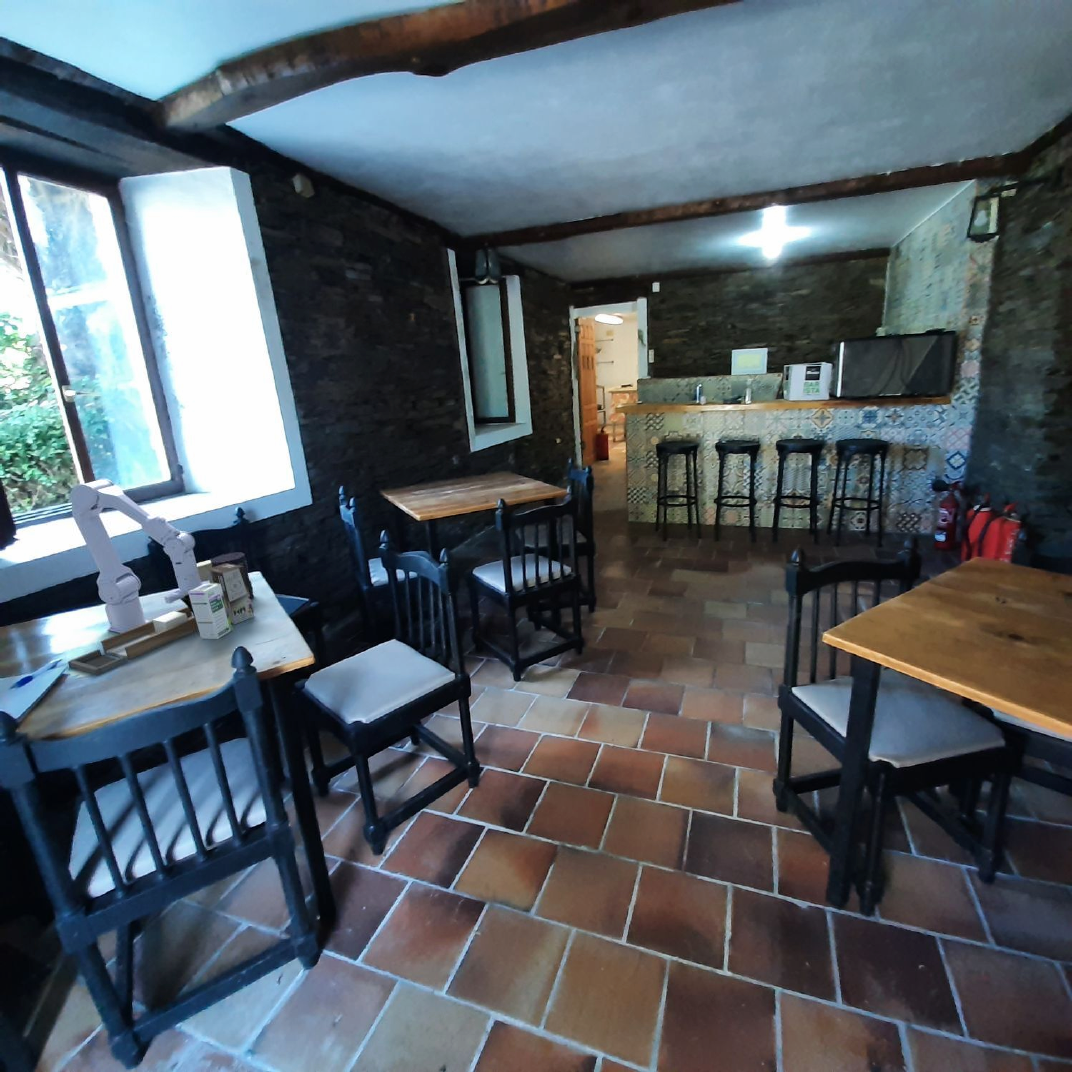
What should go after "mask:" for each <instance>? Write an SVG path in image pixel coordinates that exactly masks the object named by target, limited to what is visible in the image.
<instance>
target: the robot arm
mask: <svg viewBox="0 0 1072 1072" xmlns="http://www.w3.org/2000/svg"><path fill="white" fill-rule="evenodd" d="M67 496H68V498H69V499H70V502H71V515H72V518H73V519H74V521H75V524H76V525H77V528H78V530H79V532H80V534H81V536H82V538H83V540H84V542H85V544H86V546H87V548H88V550H89V552H90V555H91V556H92V559H93V560H94V563H95V564H96V566H97V569H98V570H99V575H98V578H97V580H96V584H97V586H98V595H99V598H100V599H101V600H102V601H103V602H105V603H106V604H105V606H104V607H105V608H104V611H105V614H106V617H107V621H108V624H109V627H107V628H106V629H107V631H110V632H111V631H112V632H116V633H118V634H120V633H122V632H125V631H127V630H130V629H132V628H135V627H137V626H140V625H142V624H145V623H147V622H150V621H151V620H148V619H146V618H145V617H146V616H145V614H144V610H143V606H142V604H141V603H142V602H141V600H140V597H139V590H140V589H141V587H142V586H141V585H142V583H141V580H140V578H139V577H138V576H137V575H135V573H134V572H133V570H132V569H131V568H130V567H128V566H125V565H124V564H123V563H122V561H121V558H120V557H119V555H118V552H117V551H116V548H115V546H114V544H113V542H112V540H111V537H110V535H109V533H108V531H107V529H106V527H105V524H104V523H103V521H102V519H101V517H100V513H102V511H103V509H104V508H109V509H110V508H111V509H115V510H117V511H118V512H120V513H122V514H123V515H125V516H126V517H128V518H130V519H132V520H133V521H135V522H136V523H137V524H139V525H140V526H141V531H142V532H143V533H145V534H146V535H147V536H148V537H150V538H152V539H153V540H154V541H156V542H157V543H159V544H160V545H162V546H163V548H162V550H163V552H164V553H165V554H166V555H168V557H169V558H170V561H171V563H172V566H173V571H174V574H175V578H176V582H177V585H178V589H177V590H175V591H173V592H172V593H170V594H168V595H165V596H164V600H165V603H166V604H173V603H174V602H176V601H179V600H180V601H182V602H183V604H185V605H186V607H187V606H188V607H189V609H190V610H191V612H192V615H194V617H195V614H194V611H193V607H192V604H191V600H190V597H189V593H188V592H189V591H190V590H193V589H195V588H197V587H199V586H201V585H202V584H207V583H210V582H209V580H207V581H204V582H201V580H200V576H199V572H198V568H197V561H196V556H195V554H194V548H195V546H196V540H195V538H194V536H193V535H192V534H191V533H190V532H188V531H182V530H180V529H178V528H176V527H174V526H173V525H172V524H171V523H169V522H167V519H166V518H164V516H163V517H160V516H159V515H151V514H149V513H148V512H147V511H146V510H144V509H143V508H142V507H141V506H140V505H138V504H137V503H136V502H135V501H133V500H132V499H131V498H130V497H129V496H127V495H126V494H125V493H124V492H123V489H122V488H121V487H120V486H118V485H116V484H115V483H114V482H113V481H112V480H110V479H107V478H99V479H97V480H94V481H89V482H86V483H82V484H81V483H79V484H76V485H75V486H74V487H73V488H72V489H71V491H70V493H69V494H68V495H67Z"/></svg>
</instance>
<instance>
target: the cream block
mask: <svg viewBox="0 0 1072 1072" xmlns="http://www.w3.org/2000/svg"><path fill="white" fill-rule="evenodd" d="M175 611H176V610H175ZM175 611H170V612H169V613H166V614H165V613H164V615H160V616H158V617H156V618H154V619H152V620H153V624H154V627H155V631H156V633H159V632H161V631H164V630H166V629H169V628H171V627H173V626H176V625H178V624H180V623H183V622H185V621H187V620H188V619H187V615H186V614H185V613H180V612H175Z"/></svg>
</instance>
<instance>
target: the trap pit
mask: <svg viewBox="0 0 1072 1072" xmlns="http://www.w3.org/2000/svg"><path fill="white" fill-rule="evenodd" d="M125 663H128V659H126V657H125V656H123V657H118V658H115V657H111V656H108V655H104V654H102V652H101V650H100V649H99V648H98V649H95V650H93V651H90V652H88V653H85V654H84V655H83V654H82V655H81V656H79V657H76V658H74V659H70V660H69V661H67V665H68V666H69V668H71V669H75V670H78V671H81V672H85V673H88V674H91V675H94V676H100V675H102V674H105V673H106V672H108V671H111V670H113V669H115V668H118V667H119V666H122V665H124V664H125Z"/></svg>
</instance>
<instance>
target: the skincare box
mask: <svg viewBox="0 0 1072 1072" xmlns="http://www.w3.org/2000/svg"><path fill="white" fill-rule="evenodd" d="M196 564H197V568H198V572H199V576H200V580H201V582H204V581H207V580H209V578H208V574H207V570H208V569H211V568H212V563H211V559H209V560H208V559H207V560H205V561H200V562H198V563H197V562H196Z"/></svg>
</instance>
